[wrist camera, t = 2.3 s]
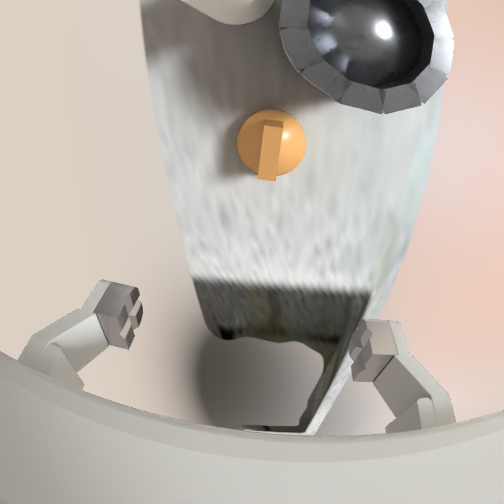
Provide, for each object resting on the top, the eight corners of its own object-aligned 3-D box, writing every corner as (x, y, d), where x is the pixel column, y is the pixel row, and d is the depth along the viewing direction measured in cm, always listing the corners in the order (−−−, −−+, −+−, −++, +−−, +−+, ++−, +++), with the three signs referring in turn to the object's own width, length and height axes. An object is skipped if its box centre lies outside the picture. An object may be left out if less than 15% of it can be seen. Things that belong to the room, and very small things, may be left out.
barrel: (286, -26, 17) (288, -64, 9) (408, 5, 17) (459, -9, 9) (273, 83, 25) (268, 92, 17) (392, 109, 24) (437, 133, 16)
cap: (242, 105, 26) (235, 113, 22) (309, 114, 26) (314, 124, 22) (237, 165, 30) (229, 183, 26) (298, 173, 30) (301, 193, 26)
